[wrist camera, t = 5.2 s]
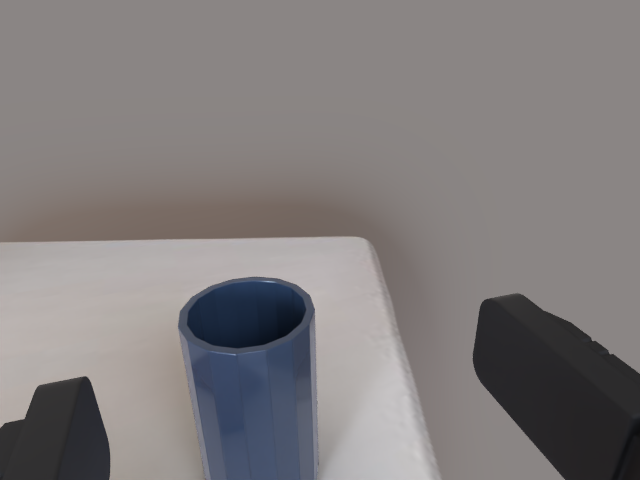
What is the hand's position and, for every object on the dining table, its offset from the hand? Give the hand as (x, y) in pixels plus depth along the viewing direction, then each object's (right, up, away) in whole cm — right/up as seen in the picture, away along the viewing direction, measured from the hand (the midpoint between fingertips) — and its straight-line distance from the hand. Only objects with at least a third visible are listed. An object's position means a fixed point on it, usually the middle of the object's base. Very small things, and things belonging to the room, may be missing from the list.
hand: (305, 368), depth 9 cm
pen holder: (-3, -11, +17) cm, 20 cm away
